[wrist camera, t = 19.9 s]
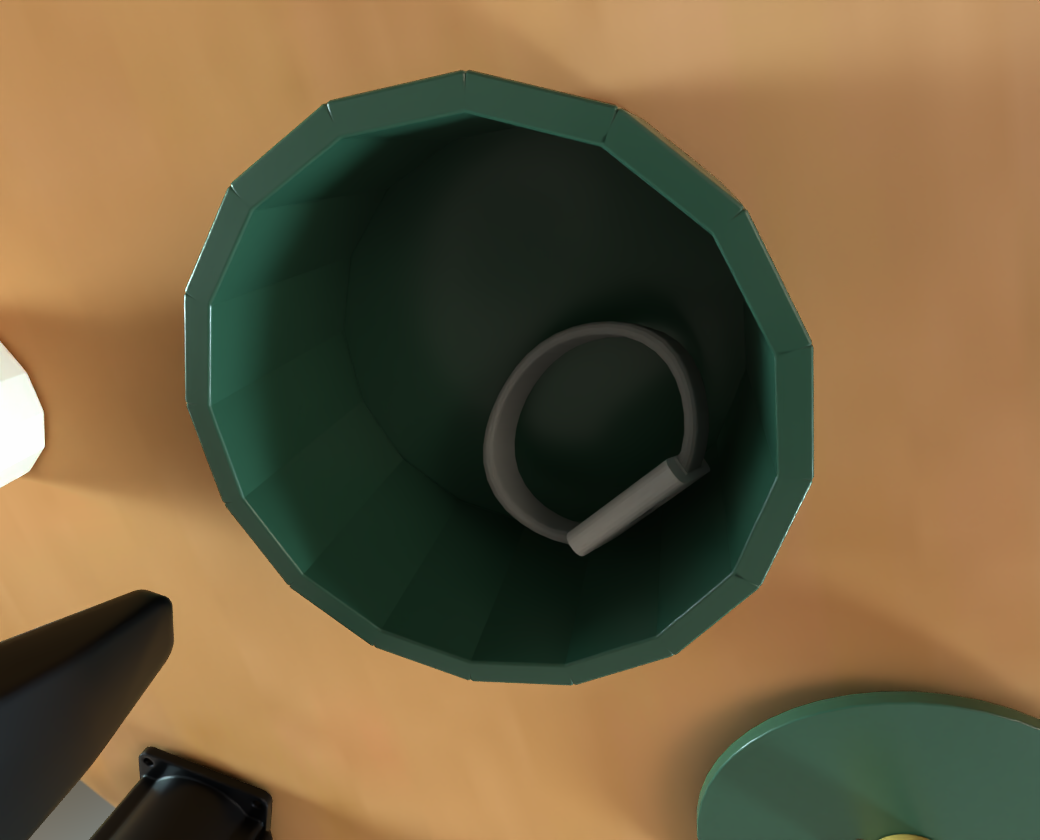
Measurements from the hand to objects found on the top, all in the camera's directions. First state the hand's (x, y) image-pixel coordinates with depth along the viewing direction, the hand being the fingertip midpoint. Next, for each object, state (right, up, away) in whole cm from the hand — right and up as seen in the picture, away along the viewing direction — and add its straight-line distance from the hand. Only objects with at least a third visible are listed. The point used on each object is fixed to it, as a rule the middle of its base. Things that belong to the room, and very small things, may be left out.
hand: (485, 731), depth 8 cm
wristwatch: (+1, +6, +9) cm, 11 cm away
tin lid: (+13, -10, +13) cm, 21 cm away
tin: (+1, +6, +10) cm, 12 cm away
